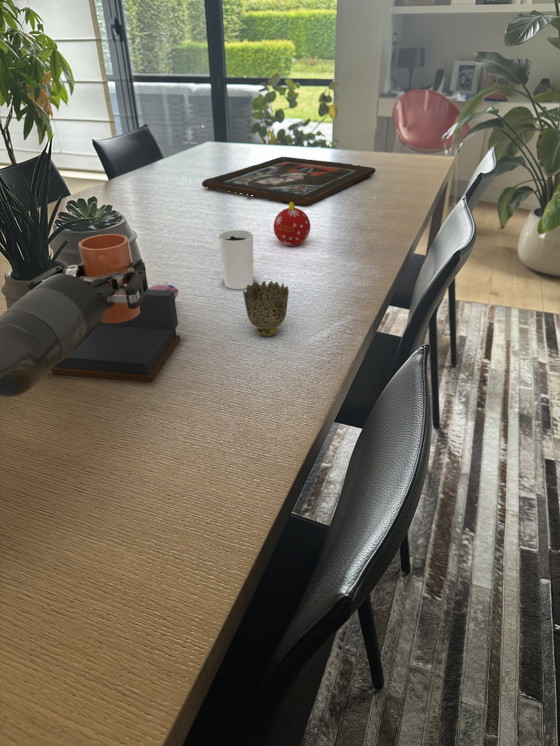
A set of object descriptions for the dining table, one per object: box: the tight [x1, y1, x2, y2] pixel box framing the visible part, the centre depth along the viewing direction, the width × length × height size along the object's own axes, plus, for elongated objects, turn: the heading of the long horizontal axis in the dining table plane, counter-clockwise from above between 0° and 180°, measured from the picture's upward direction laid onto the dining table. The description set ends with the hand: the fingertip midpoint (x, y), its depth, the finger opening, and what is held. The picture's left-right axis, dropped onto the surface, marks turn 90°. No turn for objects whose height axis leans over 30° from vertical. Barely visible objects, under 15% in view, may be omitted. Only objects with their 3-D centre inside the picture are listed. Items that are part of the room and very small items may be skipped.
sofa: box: [51, 290, 181, 383], centre depth 86 cm, size 16×13×9 cm
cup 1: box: [78, 233, 140, 323], centre depth 72 cm, size 6×6×10 cm
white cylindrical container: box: [218, 229, 254, 290], centre depth 109 cm, size 7×7×10 cm
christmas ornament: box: [273, 202, 311, 247], centre depth 128 cm, size 9×9×10 cm
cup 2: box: [242, 280, 290, 337], centre depth 91 cm, size 8×7×8 cm
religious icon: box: [201, 156, 377, 206], centre depth 179 cm, size 40×45×3 cm
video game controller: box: [148, 281, 179, 299], centre depth 99 cm, size 10×5×7 cm, turn 147°
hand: (117, 264), depth 73 cm, fingers closed on cup 1, 6 cm apart
